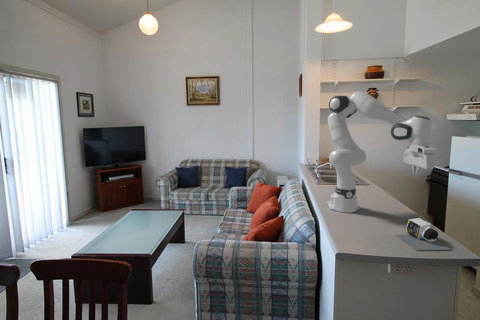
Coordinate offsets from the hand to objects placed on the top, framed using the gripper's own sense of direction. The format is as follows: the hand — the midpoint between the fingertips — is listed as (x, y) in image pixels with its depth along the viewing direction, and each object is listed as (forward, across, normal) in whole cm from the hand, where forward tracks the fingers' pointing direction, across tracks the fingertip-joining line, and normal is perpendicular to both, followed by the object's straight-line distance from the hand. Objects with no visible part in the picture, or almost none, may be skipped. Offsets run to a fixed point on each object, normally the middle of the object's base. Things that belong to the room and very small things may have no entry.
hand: (416, 174), depth 147 cm
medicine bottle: (+24, +8, -5) cm, 26 cm away
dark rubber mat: (+29, +18, -6) cm, 35 cm away
